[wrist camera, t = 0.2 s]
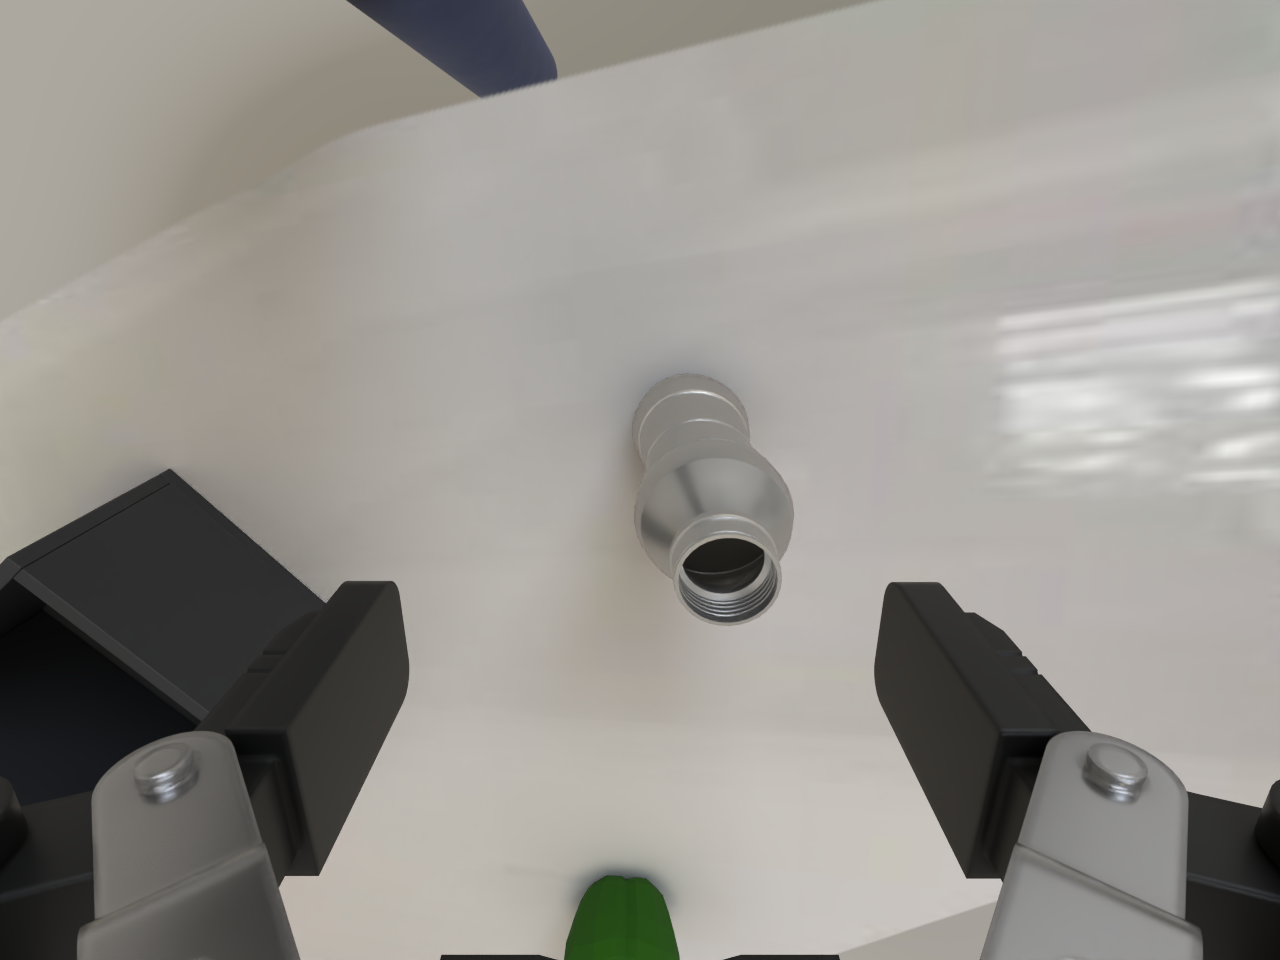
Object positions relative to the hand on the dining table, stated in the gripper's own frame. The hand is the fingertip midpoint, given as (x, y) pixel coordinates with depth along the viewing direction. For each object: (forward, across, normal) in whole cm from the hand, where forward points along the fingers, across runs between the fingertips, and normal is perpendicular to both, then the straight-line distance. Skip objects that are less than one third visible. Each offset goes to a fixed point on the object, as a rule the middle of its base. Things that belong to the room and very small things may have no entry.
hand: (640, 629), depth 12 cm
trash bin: (+31, +30, +19) cm, 47 cm away
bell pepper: (+31, +1, +45) cm, 55 cm away
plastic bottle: (+31, -3, +5) cm, 32 cm away
